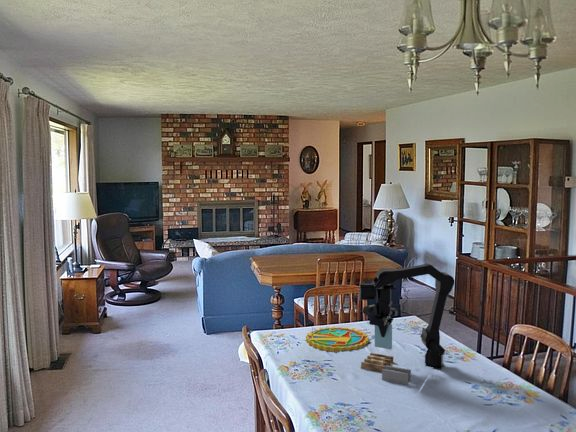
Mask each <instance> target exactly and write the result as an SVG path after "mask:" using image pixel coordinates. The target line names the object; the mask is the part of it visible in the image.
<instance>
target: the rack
mask: <svg viewBox="0 0 576 432" xmlns="http://www.w3.org/2000/svg"><path fill="white" fill-rule="evenodd" d="M371 355H373V356H378V357H384V358H385V362H384V365H377V364H372V363H371V360H370V356H371ZM394 364H395V362H394V356H393V355H387V354H380V353H375V352H370V353H369V355H367V357H366V358H364V360H363V361H361V362H360V367H359V369H363V370H369V371H373V372H379V373H382V369H385V366H386V365H388V366H393V365H394Z"/></svg>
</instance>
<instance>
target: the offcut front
mask: <svg viewBox="0 0 576 432" xmlns="http://www.w3.org/2000/svg"><path fill="white" fill-rule="evenodd" d="M369 356H370V355H369ZM371 359H375V360H381V361H384V362H385V358H384V357H378V356H373V355H371V356H370V360H371Z"/></svg>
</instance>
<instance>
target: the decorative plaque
mask: <svg viewBox="0 0 576 432" xmlns="http://www.w3.org/2000/svg"><path fill="white" fill-rule="evenodd" d="M305 341H306V342H305V343H307V344H308V346H311V347H312V348H316V349H318V350H319V351H320V350H322V351H325V352H332V353H334V352H335V353H336V352H339V353H340V352H342V351H348V352H349V351H352V350H357V349H362V348H363V347H365V346H367V344H369V342H370V338H369V337H368V334H367V333H365V332H363V331H361V330H358V329H355V328H349V327H342V326H340V327H339V326H338V327H336V326H331V327H327V326H326V327H320V328H318V329H313V330H311V331H309V332H307V334H306V336H305Z"/></svg>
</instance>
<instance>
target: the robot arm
mask: <svg viewBox="0 0 576 432" xmlns="http://www.w3.org/2000/svg"><path fill="white" fill-rule="evenodd" d="M424 275H426V276H427V275H429V276H430V277H431V278H434V280H435V283H434V284H435V285H434V288H435V294H434V295H435V296H434V299H433V303H432V304H433V305H432V307H431V308H432V309H431V312H430V315H429V316H430V317H429V321H428V325H427V326H426V327H425V328H424V327H422V329H421V334H420V336H419V337H420V339H421V342H422V344H423V345H424V346H425V347H426V349H427V350H426V353H425V354H424V364H425V367H427V368H428V367H430V368H432V369H435V370H441V369H443V366H444V365H445V363H444V354H445V352H446V349H444V348H443V346H442V345H441V344H440V343H441V342H440V341H441V335H440V327H441V322H442V319H443V315H444V311H445V306H446V304H447V303H446V301H447V298H448V296H449V295H450V293H451V291H452V290H453V288H454V285H455V278H454V277H453V276H452V275H451V274H448V273H447V272H445V271H440V270H439V269H437V268H435V266H434V265H432V264H431V263H428V262H426V263H424V264H418V265H413V266H408V267H401V268H390V267H389V268H385V267H384V268H383V267H382V268H379V269H378V270H377V272H376V274H375V277H374V278H373V279H372V280H371V283H363V282H362V283H359V285H358V290H357V293H358V300H359V301H373V300H374V299H376V302H374V304H369V305H364V306H363V308H362V313H363V315H364V316H366V317H367V316H369V315H372V314H373V316H372V317H370V319H369V325H371V326H375V325H376V326H378V327H379V330H380V333H381V337H384V336H385V334H386V331H387V328H388V326H389V324H390V325H392V323H393V321H394V320H395V319H394V318H393V317H391V315H393V316H394V317H397V316H398V309H397V308H396V307H392V305H393V301H392V290H393V291H394V290H397V287H396V286H395V285H394V284H393V283H396V282H397V281H399V280H402V279H408V278H414V277H420V276H424Z"/></svg>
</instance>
